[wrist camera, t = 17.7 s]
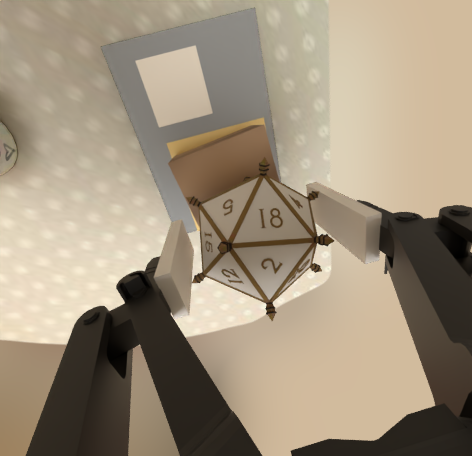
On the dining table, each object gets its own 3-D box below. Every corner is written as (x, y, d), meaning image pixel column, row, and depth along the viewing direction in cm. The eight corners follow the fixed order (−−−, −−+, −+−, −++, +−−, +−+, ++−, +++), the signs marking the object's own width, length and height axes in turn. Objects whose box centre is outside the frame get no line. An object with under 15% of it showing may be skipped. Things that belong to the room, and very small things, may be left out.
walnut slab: (174, 156, 27) (167, 163, 21) (251, 125, 26) (264, 124, 21) (207, 225, 31) (208, 245, 26) (273, 199, 31) (288, 214, 25)
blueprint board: (105, 50, 23) (99, 45, 22) (252, 13, 23) (255, 6, 22) (178, 232, 32) (177, 236, 31) (281, 203, 33) (285, 206, 32)
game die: (251, 182, 20) (371, 157, 13) (256, 273, 21) (373, 302, 13) (153, 176, 15) (260, 123, 7) (163, 300, 15) (272, 381, 7)
